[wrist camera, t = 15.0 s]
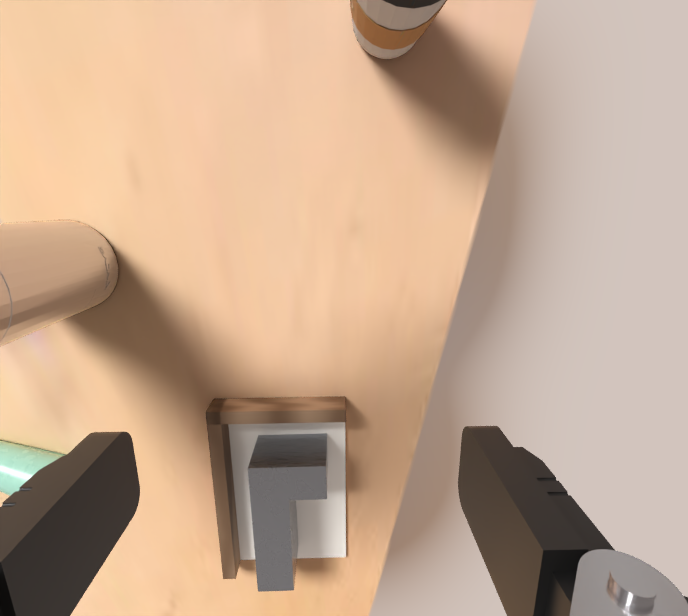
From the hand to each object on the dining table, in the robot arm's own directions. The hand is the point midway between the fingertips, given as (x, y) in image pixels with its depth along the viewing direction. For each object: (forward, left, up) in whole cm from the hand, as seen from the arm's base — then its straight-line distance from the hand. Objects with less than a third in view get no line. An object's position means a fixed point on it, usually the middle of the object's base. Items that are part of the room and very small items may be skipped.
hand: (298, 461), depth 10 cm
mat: (-5, -28, -33) cm, 43 cm away
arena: (-6, -27, -33) cm, 43 cm away
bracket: (-4, -28, -33) cm, 43 cm away
